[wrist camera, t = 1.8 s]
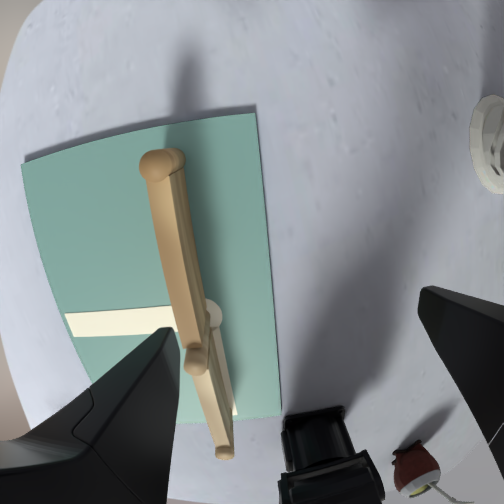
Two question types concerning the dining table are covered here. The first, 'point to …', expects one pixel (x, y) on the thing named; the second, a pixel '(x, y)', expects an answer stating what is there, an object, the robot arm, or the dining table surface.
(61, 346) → the dining table surface
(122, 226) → the board
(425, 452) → the mate gourd
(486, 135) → the french press
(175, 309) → the fence panel
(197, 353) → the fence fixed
